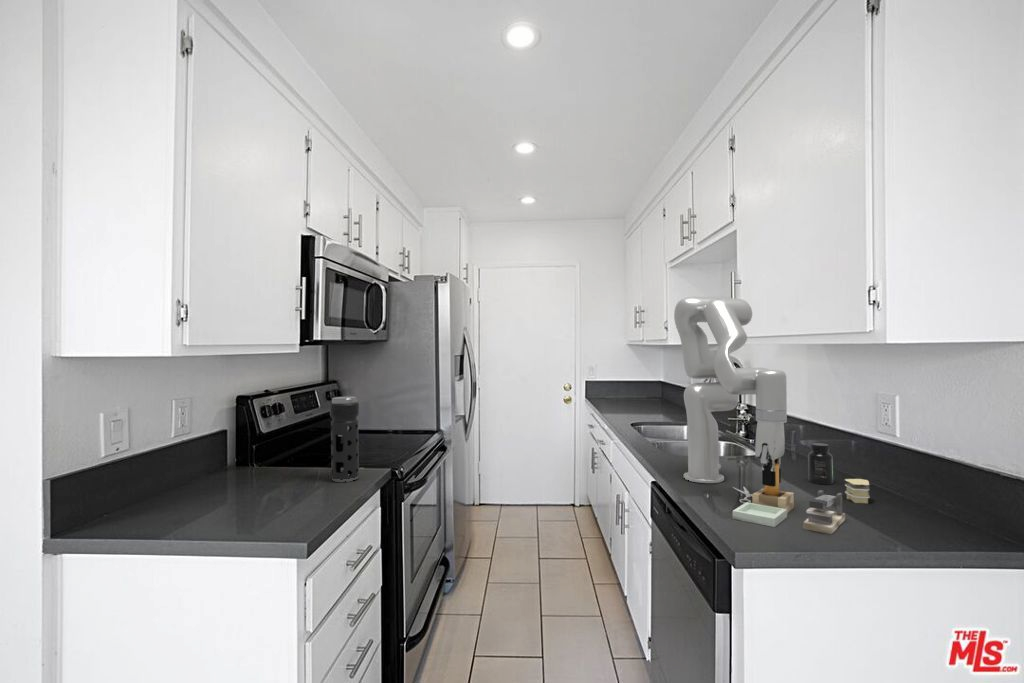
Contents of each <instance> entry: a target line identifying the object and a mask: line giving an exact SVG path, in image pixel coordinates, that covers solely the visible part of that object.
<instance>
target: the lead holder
mask: <svg viewBox="0 0 1024 683" xmlns="http://www.w3.org/2000/svg"><path fill="white" fill-rule="evenodd" d="M751 494H752V498H751V499H752V500H751V501H752V503H754V504H760V505H766V506H771V507H777V508H783V509H787V514H789V512H790V511H792V510H793V509H794V508H795V503H794V502H795V500H794V499H795V496H794V494H795V493H794V492H791V491H790V492H789V491H784V490H779V497H777V496H770V495H764V487H762V488H760V489H758V490H757V491H755V492H754V493H751Z"/></svg>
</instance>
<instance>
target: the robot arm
mask: <svg viewBox="0 0 1024 683" xmlns="http://www.w3.org/2000/svg"><path fill="white" fill-rule="evenodd" d="M673 312H674V313H673V314H674V315H673V316H674V324H675V328H676V329H677V333H678V336H679V339H680V343H681V352H682V359H683V364H684V370H685V374H686V376H687V377H688V378H691V379H695V380H702V379H703V380H706V379H707V380H709V379H712V380H715V382H714V381H713V382H712V381H711V382H710V381H709V382H696V383H692V384H689V385H688V386H686V387H685V389H684V392H683V402H684V406H685V411H686V422H687V468H688V471H687V472H684V473H683V479H684V478H685V479H684V480H686V481H688V480H689V482H693V483H698V484H699V483H700V484H718V483H722V482H724V481H725V476H724V475H722V473H721V474H720V469H722V465H721V463H719V462H720V457H719V455H720V454H719V450H720V449H719V448H720V447H719V425H718V422H717V420H716V419H715V418H714V416H713V414H712V412H727V411H728V412H729V411H732V410H734V409H736V407H738V404H739V400H740V399H739V397H740V395H741V396H745V395H746V396H747V395H755V421H756V422H757V424H756V431H755V446H754V448H755V449H754V450H755V451H754V452H755V453H754V454H755V455H754V456H755V458H756V459H760V464H761V474H762V477H761V478H762V480H761V482H762V485H763V486H764V485H766V486H772V487H775V486H776V471H774V463H777V464H779V484H780V483H782V478H781V477H782V469H781V467H782V465H781V464H782V463H781V462H782V461H781V459H782V458H781V457H783V456H784V455H785V450H786V449H785V448H786V447H785V446H786V442H785V441H786V440H785V438H786V436H785V425H784V424H786V423H788V421H787V420H788V418H787V416H788V415H787V412H788V411H787V409H788V406H787V400H788V399H787V374H786V372H785V371H783V370H779V369H769V368H765V367H735V363H734V360H733V358H732V357H731V354H732V353H734V352H736V351H737V350H739V349H741V348H742V347H743V346H744V345H745V344H746V343H747V341H748V335H747V333H746V331H745V329H744V327H743V326H747V325H749V324H750V322H751V321H752V318H753V310H752V307H751V305H750V304H749V303H748V301H746V300H745V299H742V298H734V297H733V298H732V297H726V296H725V297H723V296H689V297H684V298H682V299H680V300H679V301H678V302H677V303H676V305H675V307H674V311H673ZM698 323H707V325H708V327H709V329H710V331H711V333H712V335H713V338H714V339H715V341H716V343H717V346H718V347H717V349H714V350H713V349H712V350H711V349H710V347H709V342H708V336H707V334H706V333H705V331H704V330H703V329H702V327H701V326H700V325H699V324H698ZM769 457H771V459H769ZM770 462H771V464H770Z"/></svg>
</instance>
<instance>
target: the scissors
mask: <svg viewBox="0 0 1024 683" xmlns="http://www.w3.org/2000/svg"><path fill="white" fill-rule="evenodd" d="M732 488H733V489H735V490H736V491H738V492H739V493H742V494H743V495H744V497H743V498H740V499H739V501H740V502H739V503H741V504H745V503H746V501H747V502H749V503H752V500H751V499H748V498H750V497H752V494H753V493H750V491H749V490H748V489H747V488H746V487H745V486H743V490H741V489H739V488H737V487H733V486H732ZM744 501H745V502H744Z"/></svg>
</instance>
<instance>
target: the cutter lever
mask: <svg viewBox="0 0 1024 683" xmlns="http://www.w3.org/2000/svg"><path fill="white" fill-rule="evenodd" d="M835 504H836V495H830V494H829V495H828V494H823V495H822V496H819V497H817V496H816V497H815V498H813V499H810V500H809V508H815V509H824V510H826V509H827V508H828V507H831V506H832V505H835Z"/></svg>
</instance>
